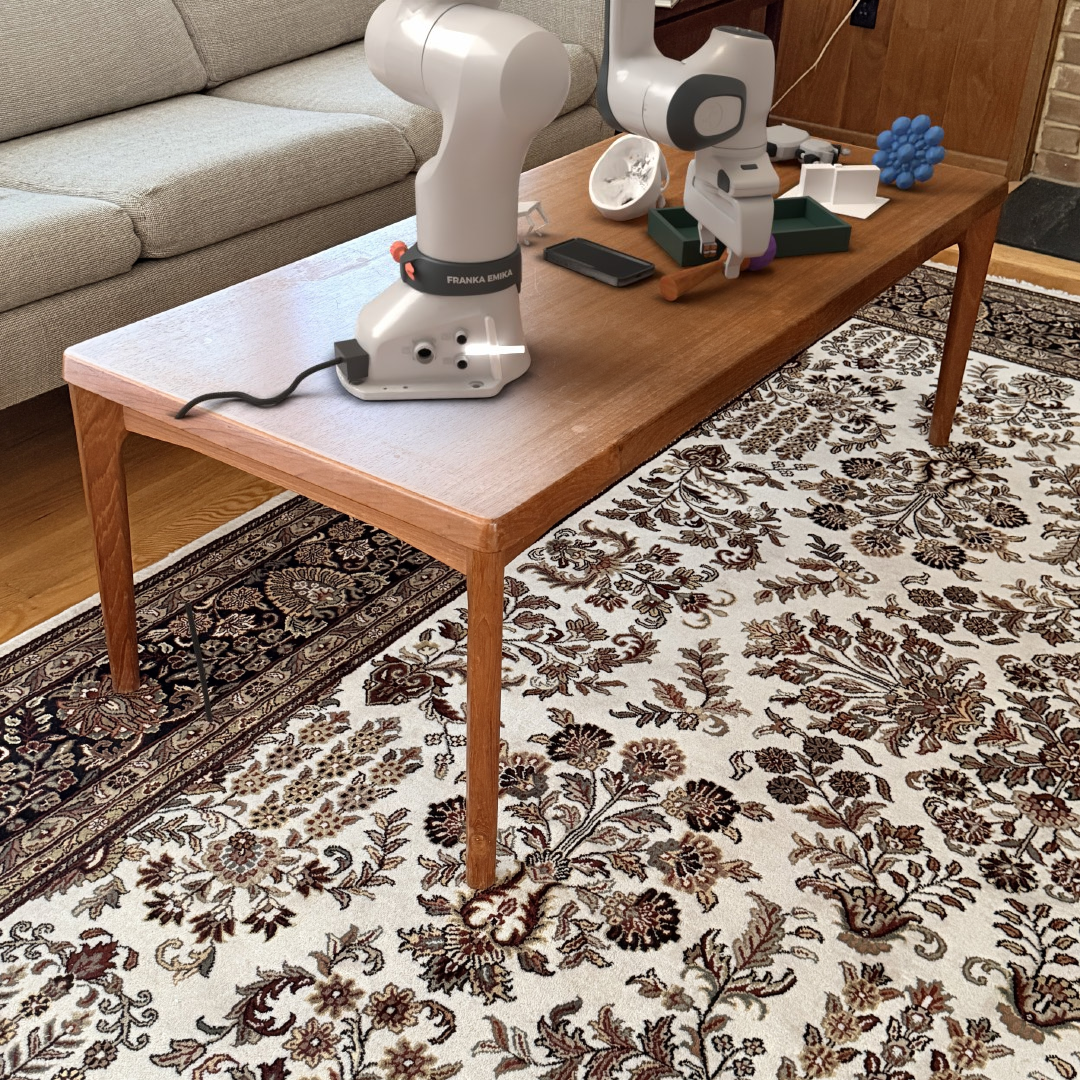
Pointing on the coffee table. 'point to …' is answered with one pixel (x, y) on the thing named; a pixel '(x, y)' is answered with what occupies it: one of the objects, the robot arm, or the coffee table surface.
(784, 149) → the robot toy
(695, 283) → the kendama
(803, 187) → the napkin holder
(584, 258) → the phone
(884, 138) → the blue beaded flower
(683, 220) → the tray
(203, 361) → the coffee table surface
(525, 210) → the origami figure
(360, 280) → the coffee table surface
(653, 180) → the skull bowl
